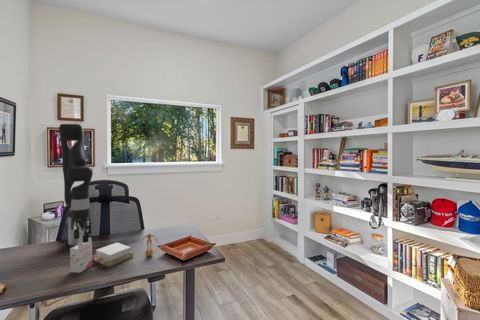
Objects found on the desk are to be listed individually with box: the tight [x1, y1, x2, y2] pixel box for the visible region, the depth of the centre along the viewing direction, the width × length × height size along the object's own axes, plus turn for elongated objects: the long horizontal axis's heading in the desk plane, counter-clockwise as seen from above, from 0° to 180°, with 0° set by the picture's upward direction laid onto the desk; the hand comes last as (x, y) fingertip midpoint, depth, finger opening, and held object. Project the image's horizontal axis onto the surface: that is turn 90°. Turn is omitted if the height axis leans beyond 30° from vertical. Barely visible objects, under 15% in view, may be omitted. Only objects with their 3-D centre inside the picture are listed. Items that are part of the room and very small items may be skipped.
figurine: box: [140, 233, 158, 257], centre depth 138 cm, size 8×6×12 cm
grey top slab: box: [95, 242, 132, 261], centre depth 134 cm, size 12×12×3 cm
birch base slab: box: [92, 251, 134, 267], centre depth 134 cm, size 14×14×3 cm
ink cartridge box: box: [69, 236, 93, 274], centre depth 122 cm, size 9×5×15 cm, turn 168°
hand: (81, 240), depth 121 cm, fingers open, 8 cm apart
